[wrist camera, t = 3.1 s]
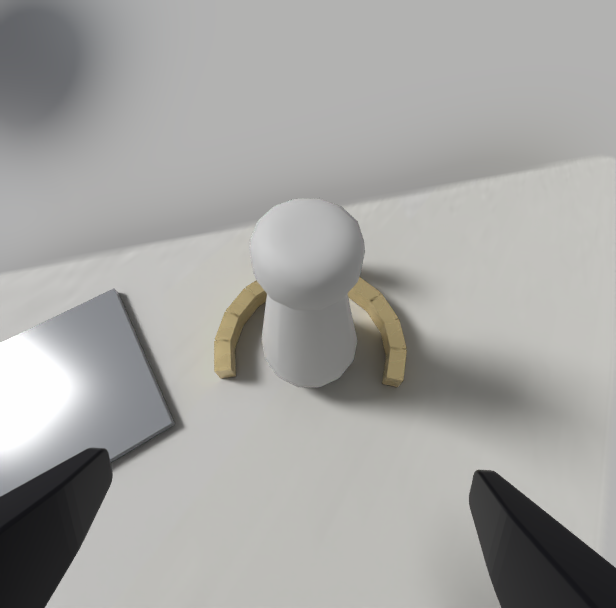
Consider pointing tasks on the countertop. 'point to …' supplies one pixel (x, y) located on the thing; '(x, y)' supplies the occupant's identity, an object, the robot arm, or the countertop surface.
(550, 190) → the countertop surface
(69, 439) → the coaster
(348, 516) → the countertop surface
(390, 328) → the gold curved piece
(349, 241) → the salt shaker
